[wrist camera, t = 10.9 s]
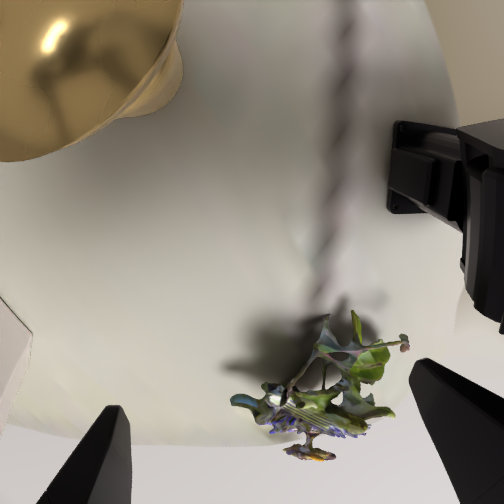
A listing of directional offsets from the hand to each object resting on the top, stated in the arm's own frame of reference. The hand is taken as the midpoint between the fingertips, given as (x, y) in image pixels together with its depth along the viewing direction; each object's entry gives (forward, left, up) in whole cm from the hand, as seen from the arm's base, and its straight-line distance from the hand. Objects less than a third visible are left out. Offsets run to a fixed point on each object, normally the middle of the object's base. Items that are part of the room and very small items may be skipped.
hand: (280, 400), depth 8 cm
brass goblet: (+5, -10, -13) cm, 17 cm away
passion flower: (-6, +11, -13) cm, 18 cm away
